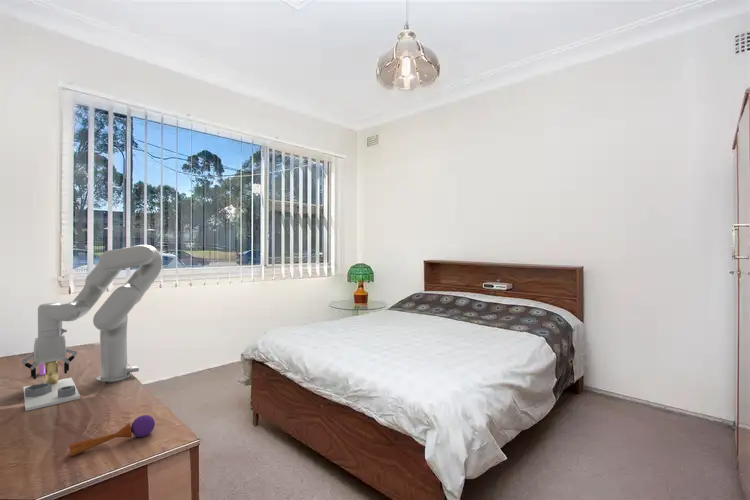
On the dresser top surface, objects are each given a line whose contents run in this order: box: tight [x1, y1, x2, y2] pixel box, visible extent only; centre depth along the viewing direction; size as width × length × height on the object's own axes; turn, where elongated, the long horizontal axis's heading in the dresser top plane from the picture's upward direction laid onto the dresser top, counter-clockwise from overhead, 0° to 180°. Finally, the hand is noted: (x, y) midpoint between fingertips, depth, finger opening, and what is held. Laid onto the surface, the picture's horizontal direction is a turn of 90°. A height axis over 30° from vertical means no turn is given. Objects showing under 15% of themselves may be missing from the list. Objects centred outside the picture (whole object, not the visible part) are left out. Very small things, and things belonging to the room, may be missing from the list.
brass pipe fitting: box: [44, 361, 59, 385], centre depth 154 cm, size 4×4×9 cm
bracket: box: [38, 363, 45, 376], centre depth 171 cm, size 13×6×7 cm, turn 40°
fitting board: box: [23, 377, 81, 412], centre depth 146 cm, size 15×28×4 cm, turn 44°
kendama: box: [68, 414, 156, 458], centre depth 108 cm, size 6×6×20 cm
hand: (50, 375), depth 154 cm, fingers open, 9 cm apart
